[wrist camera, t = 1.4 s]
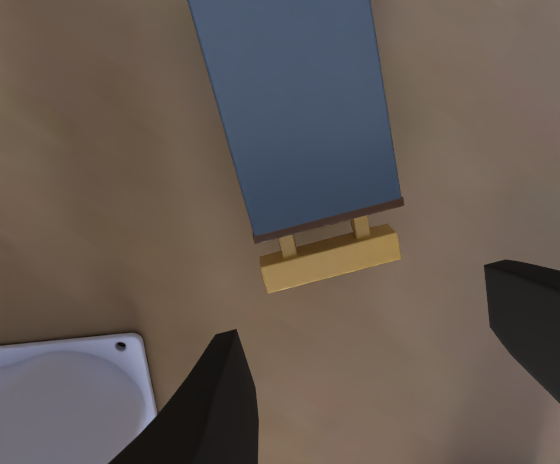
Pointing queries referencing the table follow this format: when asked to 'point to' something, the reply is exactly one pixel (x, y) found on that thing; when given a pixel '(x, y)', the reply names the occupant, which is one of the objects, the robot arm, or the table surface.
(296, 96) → the box
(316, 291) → the table surface
